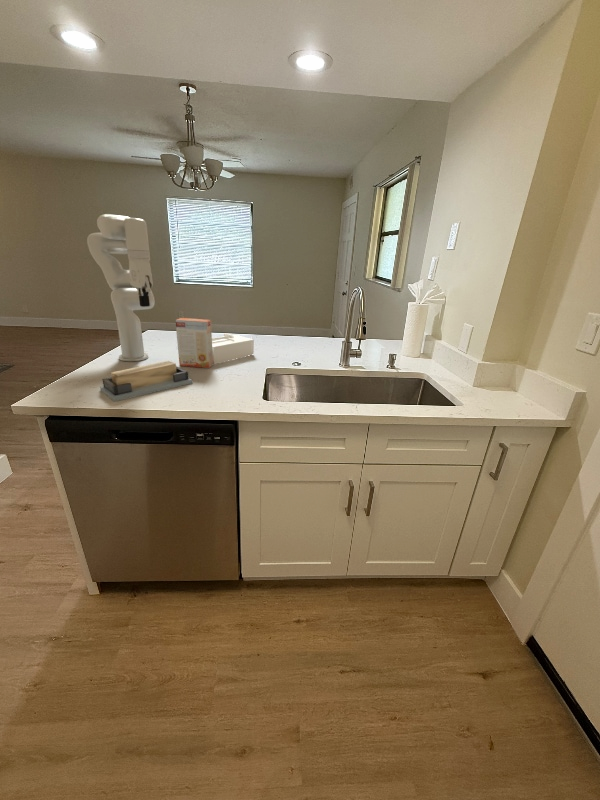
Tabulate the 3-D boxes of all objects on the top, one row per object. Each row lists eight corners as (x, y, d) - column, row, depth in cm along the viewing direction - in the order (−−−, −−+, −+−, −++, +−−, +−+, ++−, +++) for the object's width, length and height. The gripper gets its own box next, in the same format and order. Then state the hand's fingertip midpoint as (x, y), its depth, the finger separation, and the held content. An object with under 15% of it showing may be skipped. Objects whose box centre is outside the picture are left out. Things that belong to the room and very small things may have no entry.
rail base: (100, 390, 122) (98, 378, 120) (176, 374, 142) (175, 364, 140) (114, 401, 114) (112, 388, 112) (192, 383, 133) (191, 372, 132)
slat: (113, 388, 120) (111, 372, 118) (169, 375, 136) (168, 360, 134) (120, 392, 117) (118, 375, 115) (177, 378, 133) (175, 363, 131)
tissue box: (253, 355, 176) (253, 335, 172) (214, 365, 158) (213, 342, 154) (235, 350, 184) (234, 330, 180) (195, 358, 166) (194, 336, 162)
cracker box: (213, 364, 157) (211, 319, 149) (209, 368, 152) (206, 321, 143) (184, 362, 158) (180, 317, 150) (178, 366, 152) (174, 319, 144)
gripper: (120, 254, 128) (127, 304, 135) (137, 256, 119) (143, 309, 126) (140, 255, 133) (146, 303, 140) (158, 257, 124) (163, 308, 131)
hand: (145, 306), depth 133 cm, fingers closed
